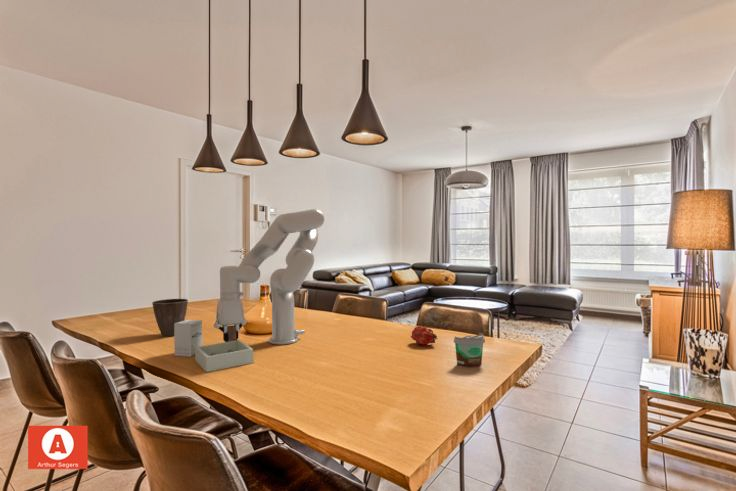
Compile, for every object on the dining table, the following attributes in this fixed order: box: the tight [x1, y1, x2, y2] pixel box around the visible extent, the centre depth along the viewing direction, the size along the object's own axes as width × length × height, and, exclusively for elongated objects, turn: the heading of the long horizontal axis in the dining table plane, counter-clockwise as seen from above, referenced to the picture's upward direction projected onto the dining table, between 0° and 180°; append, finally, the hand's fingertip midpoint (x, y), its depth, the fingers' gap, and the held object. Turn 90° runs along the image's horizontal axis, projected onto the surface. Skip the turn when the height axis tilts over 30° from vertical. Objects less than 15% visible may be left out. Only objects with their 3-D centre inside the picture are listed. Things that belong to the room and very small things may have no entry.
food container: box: [453, 332, 486, 368], centre depth 133 cm, size 12×6×10 cm, turn 117°
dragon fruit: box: [410, 325, 438, 347], centre depth 160 cm, size 8×8×12 cm
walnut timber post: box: [227, 324, 236, 342], centre depth 156 cm, size 3×4×9 cm
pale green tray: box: [194, 339, 254, 373], centre depth 140 cm, size 16×16×5 cm
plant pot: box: [151, 298, 189, 337], centre depth 180 cm, size 15×15×16 cm
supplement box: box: [173, 319, 203, 358], centre depth 150 cm, size 7×7×13 cm
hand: (230, 341), depth 156 cm, fingers closed on walnut timber post, 2 cm apart
